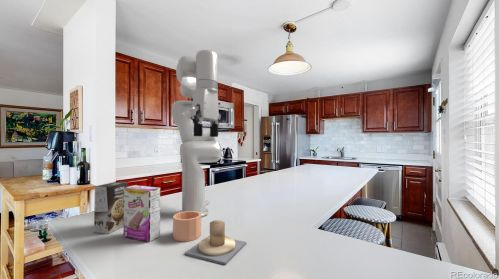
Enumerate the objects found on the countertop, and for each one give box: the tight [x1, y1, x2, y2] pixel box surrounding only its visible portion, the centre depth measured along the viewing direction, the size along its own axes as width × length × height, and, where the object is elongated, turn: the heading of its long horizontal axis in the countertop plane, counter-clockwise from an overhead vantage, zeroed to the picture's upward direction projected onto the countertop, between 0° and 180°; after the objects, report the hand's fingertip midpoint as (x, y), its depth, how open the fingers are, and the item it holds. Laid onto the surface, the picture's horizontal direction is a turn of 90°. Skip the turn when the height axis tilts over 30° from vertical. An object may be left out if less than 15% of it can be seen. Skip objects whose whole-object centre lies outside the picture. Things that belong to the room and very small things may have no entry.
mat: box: [184, 235, 247, 266], centre depth 66 cm, size 13×13×1 cm
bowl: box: [172, 211, 203, 243], centre depth 76 cm, size 9×9×7 cm
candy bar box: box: [123, 184, 161, 243], centre depth 74 cm, size 11×5×16 cm, turn 71°
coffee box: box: [93, 181, 129, 235], centre depth 82 cm, size 9×6×16 cm
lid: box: [198, 219, 235, 256], centre depth 66 cm, size 11×11×7 cm
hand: (206, 136), depth 79 cm, fingers open, 9 cm apart
